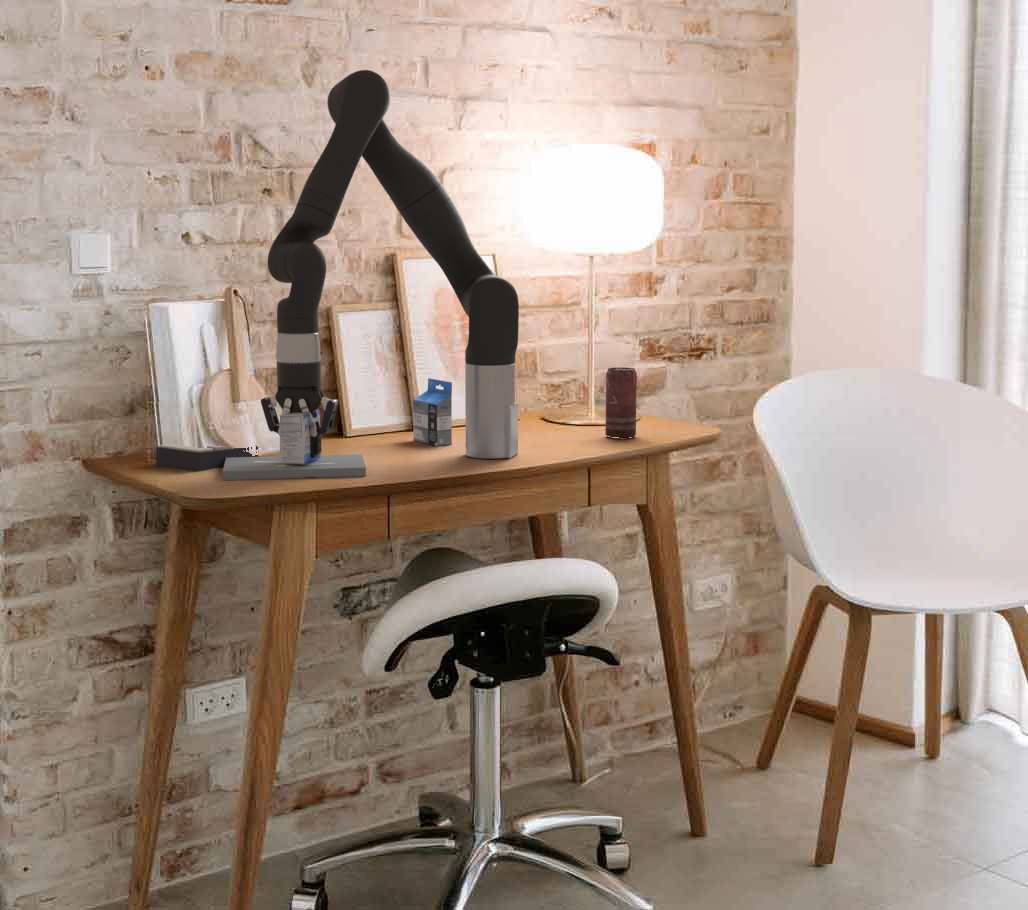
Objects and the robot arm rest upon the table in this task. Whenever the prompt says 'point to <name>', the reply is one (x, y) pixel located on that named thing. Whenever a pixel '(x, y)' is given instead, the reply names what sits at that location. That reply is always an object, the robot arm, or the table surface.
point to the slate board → (293, 467)
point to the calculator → (196, 456)
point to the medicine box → (295, 438)
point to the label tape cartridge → (433, 414)
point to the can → (621, 402)
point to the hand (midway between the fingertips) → (300, 456)
